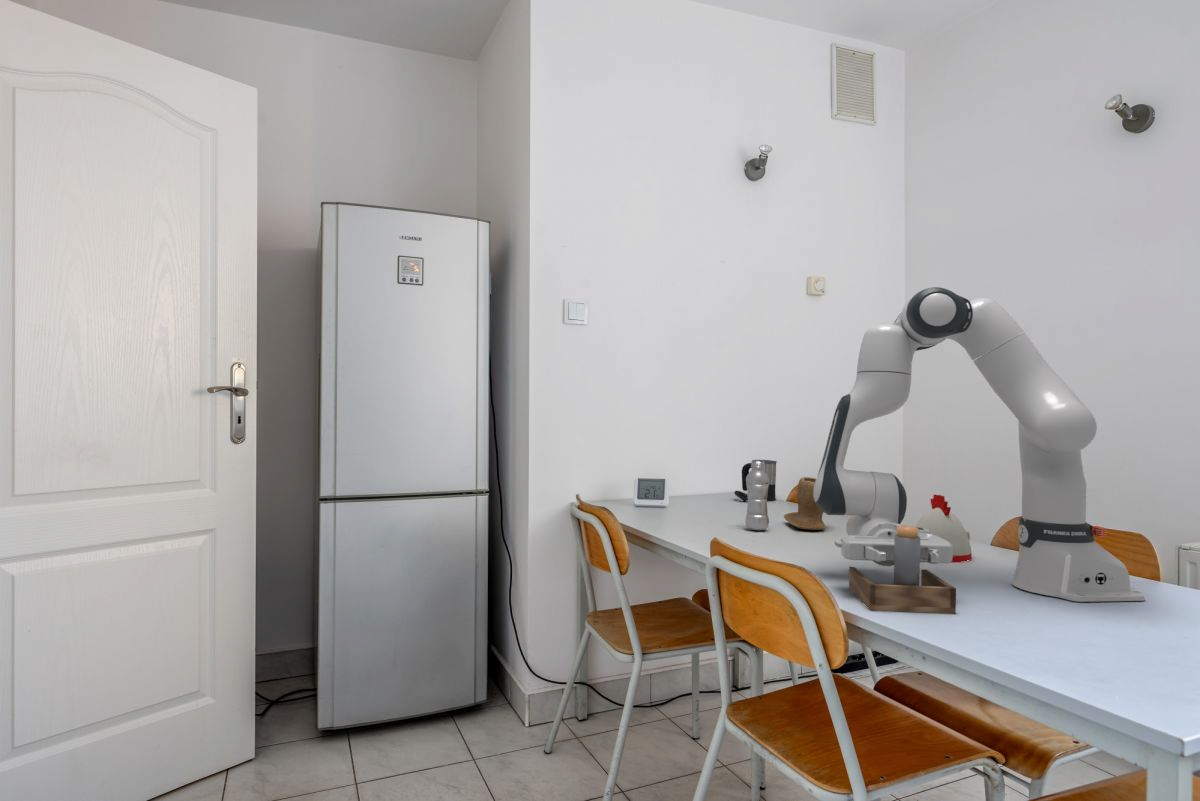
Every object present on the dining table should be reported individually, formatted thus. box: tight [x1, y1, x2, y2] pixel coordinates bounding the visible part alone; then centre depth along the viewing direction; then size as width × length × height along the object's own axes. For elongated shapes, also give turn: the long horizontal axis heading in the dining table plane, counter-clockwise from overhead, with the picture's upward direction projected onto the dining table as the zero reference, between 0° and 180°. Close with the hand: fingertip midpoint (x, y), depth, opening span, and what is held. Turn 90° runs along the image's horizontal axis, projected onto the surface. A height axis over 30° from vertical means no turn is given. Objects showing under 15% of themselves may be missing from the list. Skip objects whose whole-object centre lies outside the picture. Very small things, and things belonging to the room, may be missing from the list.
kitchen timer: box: [912, 494, 972, 563], centre depth 173 cm, size 14×14×15 cm
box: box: [848, 566, 957, 615], centre depth 134 cm, size 15×14×4 cm
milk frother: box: [734, 459, 778, 502], centre depth 263 cm, size 14×16×15 cm
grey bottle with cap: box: [892, 525, 921, 586], centre depth 130 cm, size 4×4×14 cm
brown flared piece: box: [783, 476, 826, 531], centre depth 208 cm, size 15×12×15 cm
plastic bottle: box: [744, 460, 770, 532], centre depth 203 cm, size 6×7×20 cm
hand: (908, 558), depth 129 cm, fingers open, 8 cm apart
